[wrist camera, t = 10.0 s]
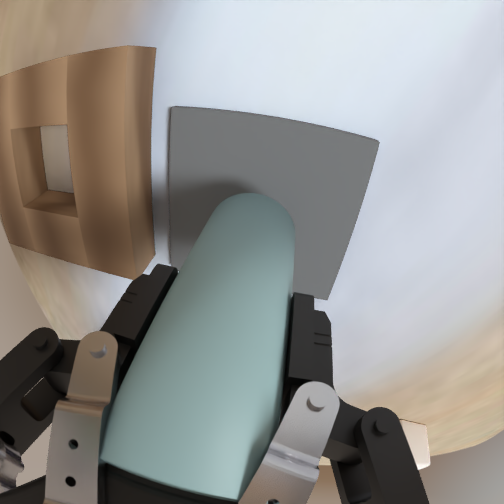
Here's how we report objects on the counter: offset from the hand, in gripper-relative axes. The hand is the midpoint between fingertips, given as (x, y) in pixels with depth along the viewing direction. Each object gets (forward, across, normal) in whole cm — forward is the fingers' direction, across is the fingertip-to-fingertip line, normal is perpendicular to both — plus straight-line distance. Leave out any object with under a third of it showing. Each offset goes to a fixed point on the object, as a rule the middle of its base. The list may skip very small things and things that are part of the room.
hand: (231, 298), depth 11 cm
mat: (+8, 0, 0) cm, 8 cm away
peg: (+5, 0, 0) cm, 5 cm away
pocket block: (+8, +14, -2) cm, 16 cm away
